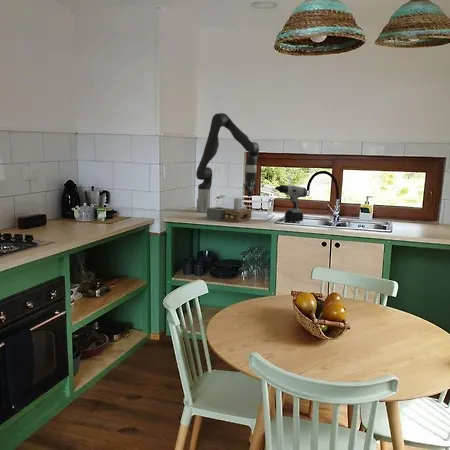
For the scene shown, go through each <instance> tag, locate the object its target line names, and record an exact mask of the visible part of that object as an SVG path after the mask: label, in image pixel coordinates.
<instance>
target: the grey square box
mask: <svg viewBox="0 0 450 450" xmlns="http://www.w3.org/2000/svg"><path fill="white" fill-rule="evenodd" d="M229 209H230V208H228V207H222V206H212V207H210V208H207V212H206V219H210V220H215V221H226V220H225V210H229Z"/></svg>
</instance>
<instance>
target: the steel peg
mask: <svg viewBox="0 0 450 450" xmlns="http://www.w3.org/2000/svg"><path fill="white" fill-rule="evenodd" d="M242 203H243V199H242V198H240V197H237V198H233V209H234V211H241V209H242ZM240 218H241V217H240Z"/></svg>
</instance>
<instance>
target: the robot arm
mask: <svg viewBox="0 0 450 450" xmlns="http://www.w3.org/2000/svg"><path fill="white" fill-rule="evenodd" d="M222 127H224V128H226V129H227V130H228V131H229V133H230V134H231V135H232V137H233V139H235V140H236V141H237V142H238V144H240V145H241V146H242V147H243V149H244V150H245V151H246V152H248V156H247V157H246V164H245V165H246V166H245V175H244V177H245V179H246V180H245V183H243V186H244V189H245V191H247V197H250V198H251V197H252V196H253V191H255V189H256V187H257V185H258V183H257V182H256V178H257V163H258V157H259V153H260V145H259V144H258V142H255V141H251V140H250V138H249V136H248V135H246V133H244V132H243V131H242V130H241V129H240V128H239V127H238V126H237V125H236V124H235V123H234V122H233V120H232V119H231V118H230V117H229V116H228V115H227V114H226V113H223V112H219V113H215V114H213V115H212V118H211V123H210V128H209V131H208V132H209V133H208V136H207V139H206V142H205V146H204V150H203V153H202V156H201V159H200V162H199V164H198V167H197V170H196V171H195V172H196V173H195V175H196V179H197V180H201V181H202V182H201V183H200V184H198V185H197V198H196V212H198V213H207V208H211V188H212V187H211V186H212V183H213V170H212V168H211V167H209V166H208V164H209V163H210V162H211V160H212V159H213V158H214V157H215V156H216V154H217V153H218V150H219V145H220V140H219V133H220V131H221V130H220V129H221V128H222Z"/></svg>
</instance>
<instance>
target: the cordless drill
mask: <svg viewBox="0 0 450 450" xmlns="http://www.w3.org/2000/svg"><path fill="white" fill-rule="evenodd" d="M274 189H275V190H277V191H278V192H279V193H282V194H284V195H286V196H289V200H290V201H291V202H292V205H293V207H292V208H290V207H289V208H288V209H287V210H286V211H285V213H284V220H285V221H287V222H303V221H304V214H303V209H300V203H299V201H298V198H306V197H307V194H308V192H307V191H308V190H307V188H306V187H303V186H298V185H297V186H296V185H291V184H290V185H289V184H288V185H287V184H280V185H279V186H275V188H274Z"/></svg>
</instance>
